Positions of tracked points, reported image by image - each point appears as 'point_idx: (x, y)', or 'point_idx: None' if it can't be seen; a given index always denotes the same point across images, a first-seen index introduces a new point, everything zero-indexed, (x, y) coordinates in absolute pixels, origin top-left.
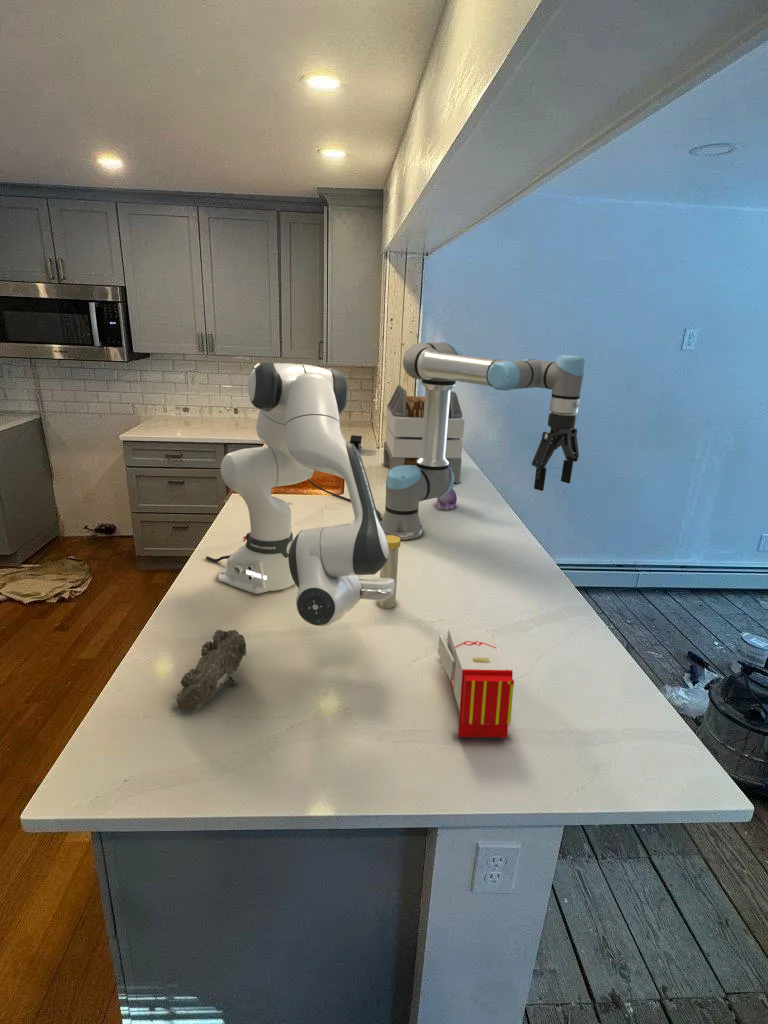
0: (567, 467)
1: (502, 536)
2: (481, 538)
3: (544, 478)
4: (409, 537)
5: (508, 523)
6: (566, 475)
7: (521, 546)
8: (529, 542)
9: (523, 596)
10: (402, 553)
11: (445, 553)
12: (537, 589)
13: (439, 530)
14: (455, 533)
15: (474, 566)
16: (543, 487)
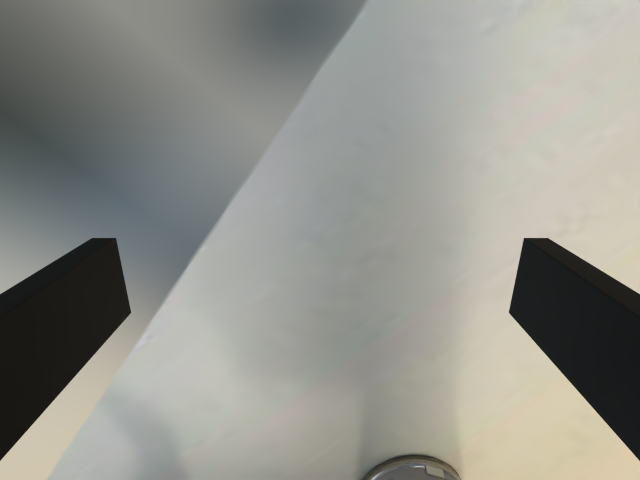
0: (15, 365)
1: (206, 360)
2: (269, 380)
3: (621, 293)
4: (433, 463)
5: (117, 403)
6: (82, 303)
7: (213, 293)
8: (168, 297)
9: (496, 86)
10: (505, 419)
11: (425, 370)
12: (424, 87)
13: (321, 459)
14: (302, 430)
15: (433, 284)
16: (547, 248)
